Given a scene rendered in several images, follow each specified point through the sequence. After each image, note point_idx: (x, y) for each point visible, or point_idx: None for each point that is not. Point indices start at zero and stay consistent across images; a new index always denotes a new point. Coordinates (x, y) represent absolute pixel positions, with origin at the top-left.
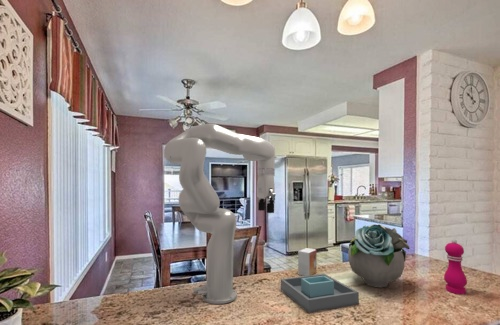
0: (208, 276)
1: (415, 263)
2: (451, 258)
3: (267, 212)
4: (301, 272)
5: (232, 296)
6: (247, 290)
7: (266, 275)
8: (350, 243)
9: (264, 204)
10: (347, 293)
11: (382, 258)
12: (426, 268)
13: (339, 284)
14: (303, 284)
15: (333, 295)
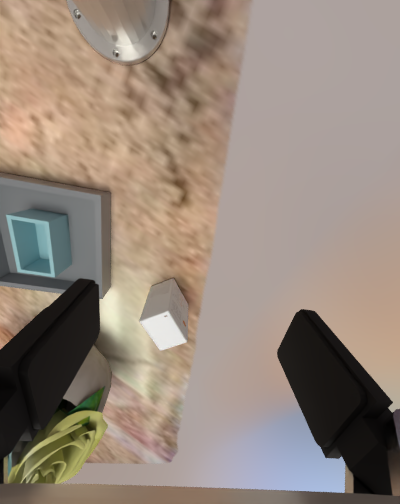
0: None
1: (136, 439)
2: None
3: (80, 280)
4: (165, 283)
5: (85, 26)
6: (134, 113)
7: (202, 216)
8: (84, 406)
9: (304, 407)
10: None
11: None
12: (113, 434)
13: (43, 285)
14: (44, 217)
15: None
